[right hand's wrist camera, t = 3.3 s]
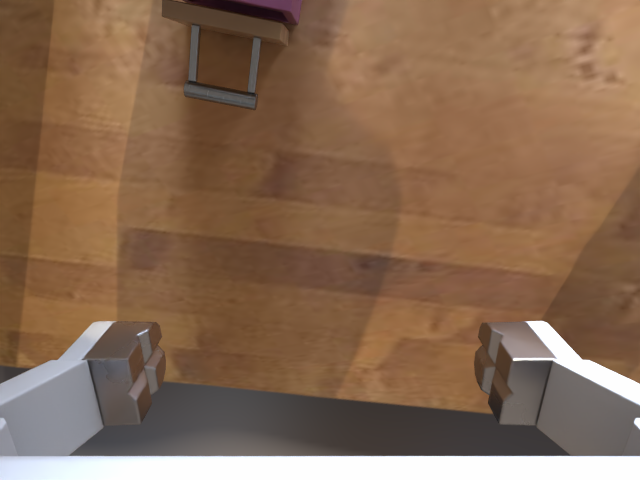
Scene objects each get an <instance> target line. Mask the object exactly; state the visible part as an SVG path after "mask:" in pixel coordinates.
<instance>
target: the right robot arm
mask: <svg viewBox="0 0 640 480" xmlns="http://www.w3.org/2000/svg"><path fill="white" fill-rule="evenodd" d="M161 338H162V334H161V330H160V325H159V324H158V323H157V322H128V321H117V322H116V321H97V322H93V323H92V324H91V325H90V326H89V327H88V328H87V329H86V331H85V332H84V333H83V334H82V335H81V336H80V337H79V338H78V339H77V340H76V341H75V342H74V343H73V344H72V345H71V346H70V348H69V349H68V350H67V351H66V352H65V353H64V354H63V355H62V356H61V357H60V358H59V359H58V360H50V361H48V362H46V363H44V364H42V365H40V366H37V367H35V368H33V369H31V370H29V371H27V372H25V373H22V374H20V375H18V376H16V377H14V378H12V379H10V380H7V381H5V382H3V383H1V384H0V480H640V384H639V383H637V382H635V381H632V380H630V379H628V378H626V377H624V376H622V375H620V374H618V373H615V372H613V371H611V370H609V369H607V368H605V367H603V366H600V365H598V364H596V363H594V362H592V361H590V360H582V359H581V358H580V357H579V356H578V355H577V354H576V353H575V352H574V351H573V350H572V349H571V347H570V346H569V345H568V344H567V343H566V342H565V341H564V340H563V339H562V338H561V337H560V336H559V335H558V334H557V333H556V332H555V330H554V329H553V328H552V327H551V326H550V325H549V324H548V323H546V322H544V321H525V322H492V323H482V324H481V326H480V329H479V334H478V338H479V339H480V341H481V343H482V344H483V345H482V346H481V347H480V348H479V349H478V350H477V351H476V352H475V360H474V368H475V376H476V379H477V382H478V384H479V386H480V388H481V390H482V391H484V392H485V393H487V394H488V395H489V401H488V404H489V406H490V408H491V410H492V412H493V413H494V415H495V417H496V419H497V421H498V423H499V424H502V425H537V426H536V427H537V428H538V429H539V430H540V431H542V432H543V433H544V434H545V435H547V436H548V437H549V438H550V439H551V440H553V441H554V442H555V443H557V444H558V445H559V446H560V447H561V448H563V449H564V450H565V451H566V452H568V453H569V454H570V455H571V456H69V455H70V454H71V453H72V452H74V451H75V450H76V449H78V448H79V447H80V446H81V445H82V444H84V443H85V442H86V441H87V440H89V439H90V438H91V437H92V436H94V435H95V434H96V433H97V432H99V431H100V430H101V429H102V428H103V427H104V426H103V425H137V424H141V423H142V421H143V419H144V417H145V415H146V413H147V412H148V410H149V408H150V406H151V404H152V401H151V395H152V394H153V393H155V392H156V391H158V390H159V388H160V386H161V384H162V382H163V379H164V375H165V370H166V359H165V352H164V351H163V350H162V349H161V348H160V347H159V346H158V345H157V344H158V343H159V341H160V339H161Z"/></svg>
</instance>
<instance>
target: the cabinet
mask: <svg viewBox="0 0 640 480" xmlns="http://www.w3.org/2000/svg"><path fill="white" fill-rule="evenodd" d="M183 1H185V2H188V3H193V4H198V5H203V6H207V7H212V8H217V9H222V10H227V11H232V12H237V13H242V14H246V15H251V16H256V17H261V18H266V19H271V20H276V21H281V22H285V23H290V24H295V25H298V23H299V16H300V9H301V2H302V0H228V1H224V0H183ZM229 1H233V2H229ZM234 2H238V3H234ZM239 3H243V4H239ZM244 4H248V5H244ZM249 5H253V6H249ZM254 6H257V7H254ZM258 7H262V8H258ZM263 8H267V9H263ZM268 9H272V10H268ZM273 10H277V11H273ZM278 11H282V12H278Z"/></svg>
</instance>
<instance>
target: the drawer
mask: <svg viewBox="0 0 640 480" xmlns="http://www.w3.org/2000/svg"><path fill="white" fill-rule="evenodd" d="M224 1H228V0H224ZM229 2H233V1H229ZM234 3H238V2H234ZM239 4H243V3H239ZM244 5H248V4H244ZM249 6H253V5H249ZM254 7H257V6H254ZM258 8H262V7H258ZM263 9H267V8H263ZM268 10H272V9H268ZM273 11H277V10H273ZM278 12H282V11H278ZM162 16H163V17H165V18H168V19H171V20H173V21H176V22H179V23H182V24H184V25H187V26H191V27H192V29H191V46H190V62H189V78H188V80H186V82H185V85H184V95H185V97H189V98H194V99H199V100H204V101H209V102H215V103H220V104H225V105H230V106H235V107H240V108H246V109H251V110H256V107H257V102H258V94H256V85H257V76H258V68H259V59H260V51H261V43H262V41H265V42H270V43H275V44H280V45H285V46H287V45H288V38H289V31H288V29H287V28H286V27H285V26H284V25H283V23H281V22H276V21H271V20H266V19H261V18H256V17H251V16H246V15H242V14H237V13H232V12H227V11H222V10H217V9H212V8H207V7H203V6H198V5H193V4H188V3H183V2H178V1H173V0H162ZM201 29H206V30H211V31H216V32H221V33H226V34H230V35H235V36H240V37H245V38H250V39H253V47H252V56H251V65H250V73H249V82H248V92H245V91H240V90H235V89H230V88H225V87H220V86H215V85H209V84H204V83H199V82H197V78H198V63H199V49H200V34H201Z"/></svg>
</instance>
